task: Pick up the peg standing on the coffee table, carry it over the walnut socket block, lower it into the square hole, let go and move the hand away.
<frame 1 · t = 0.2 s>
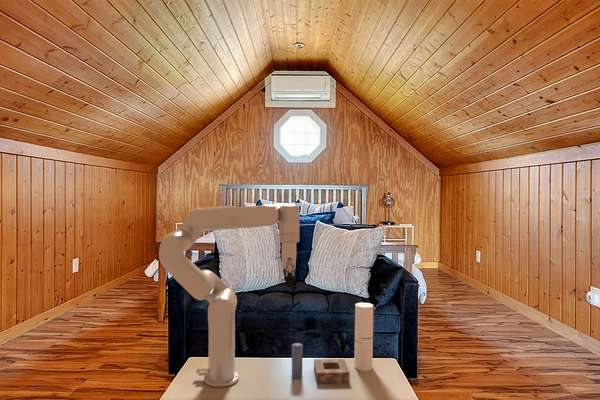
hand: (289, 283, 156), 36 cm above the table, tool pointing down, fingers open, 9 cm apart
cylindrical container: (363, 367, 168), on the table
peg: (296, 376, 158), on the table
socket block: (331, 376, 159), on the table
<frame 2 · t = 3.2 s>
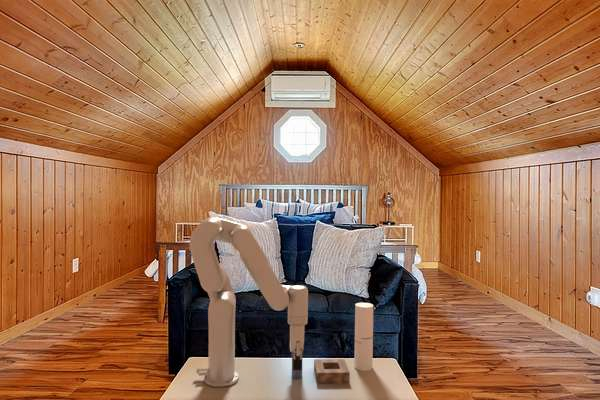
hand: (297, 366, 158), 4 cm above the table, tool pointing down, fingers closed on peg, 4 cm apart
peg: (296, 376, 158), on the table, touching gripper
everything else where it was.
when the fingers open (6 cm above the table, at t = 8.7 s): peg drops 2 cm, resting in socket block.
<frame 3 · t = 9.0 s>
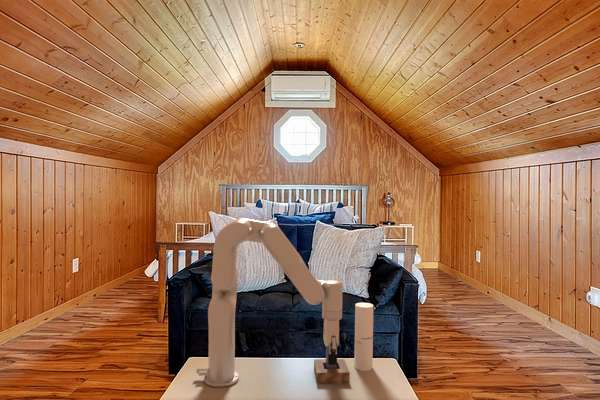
hand: (331, 360, 159), 6 cm above the table, tool pointing down, fingers open, 6 cm apart
peg: (331, 376, 159), resting in socket block
everything else where it was.
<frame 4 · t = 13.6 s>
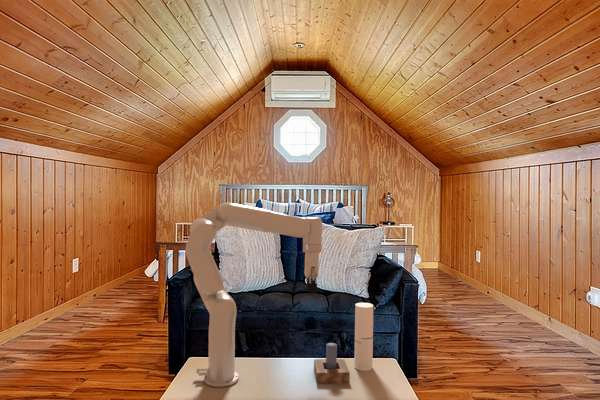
hand: (311, 290, 168), 30 cm above the table, tool pointing down, fingers open, 9 cm apart
nothing on the table moved.
at the end: peg 0.0 cm off-centre on the socket block, point 0.0 cm above the socket block's base; peg tilted 0°; the gripper is holding nothing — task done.
